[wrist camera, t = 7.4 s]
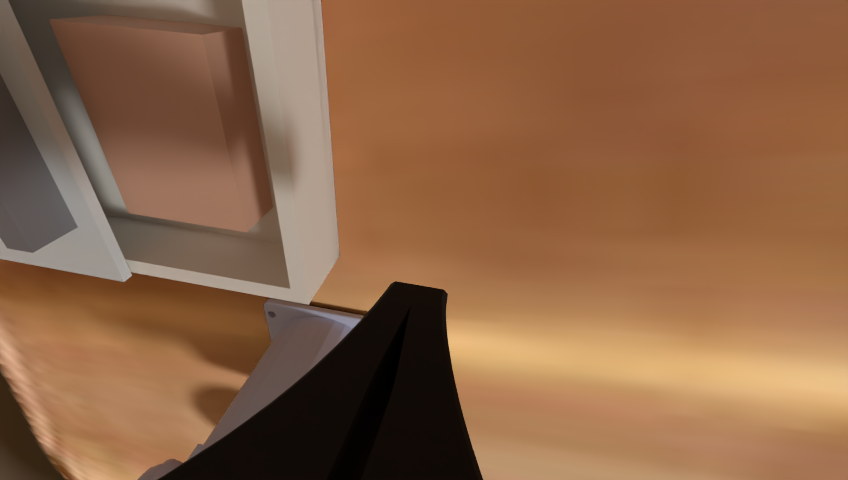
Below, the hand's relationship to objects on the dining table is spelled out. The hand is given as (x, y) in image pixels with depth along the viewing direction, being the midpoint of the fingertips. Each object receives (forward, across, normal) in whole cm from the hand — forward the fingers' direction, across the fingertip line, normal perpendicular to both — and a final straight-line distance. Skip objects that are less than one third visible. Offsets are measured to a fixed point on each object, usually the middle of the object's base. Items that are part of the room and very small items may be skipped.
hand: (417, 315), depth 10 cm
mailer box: (+9, +15, -1) cm, 18 cm away
